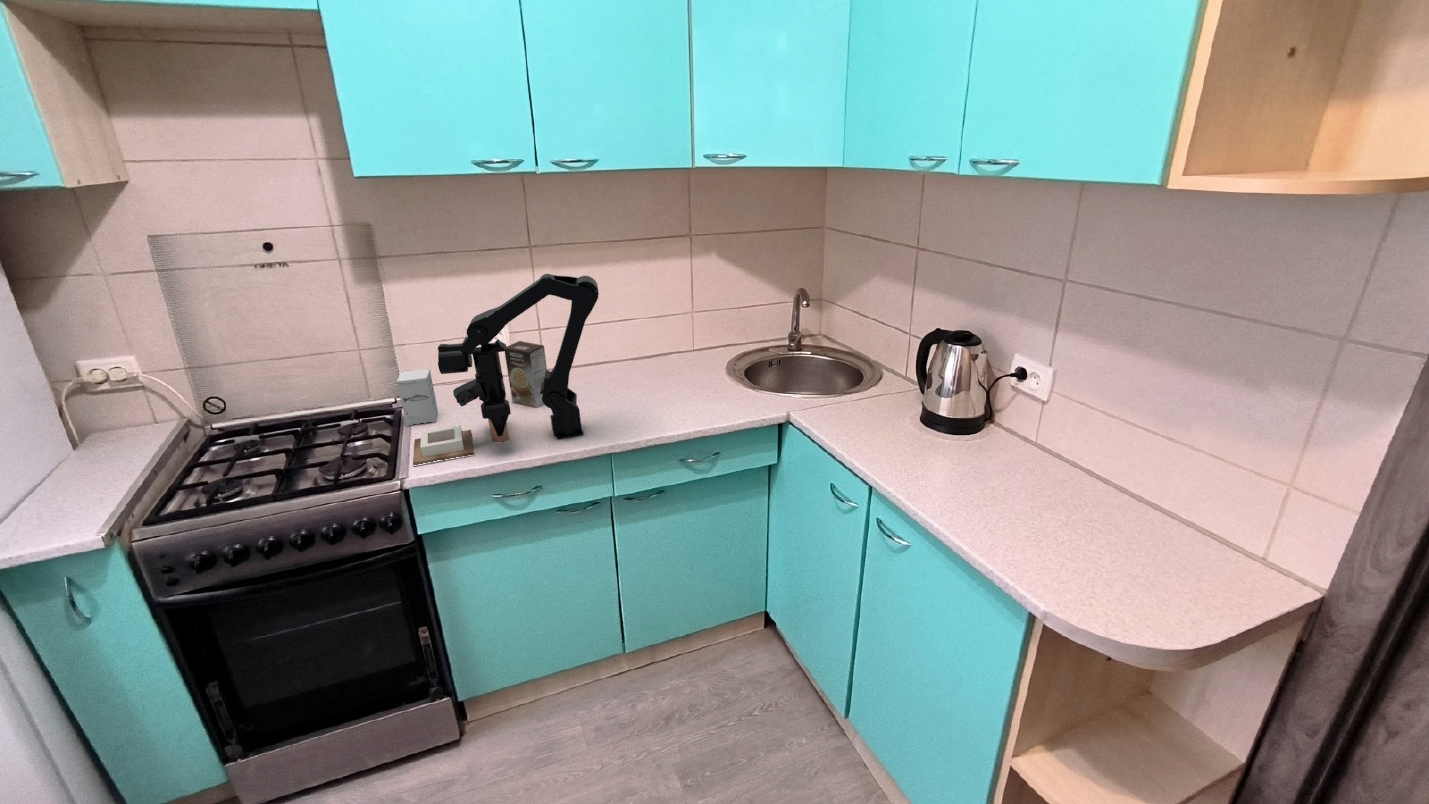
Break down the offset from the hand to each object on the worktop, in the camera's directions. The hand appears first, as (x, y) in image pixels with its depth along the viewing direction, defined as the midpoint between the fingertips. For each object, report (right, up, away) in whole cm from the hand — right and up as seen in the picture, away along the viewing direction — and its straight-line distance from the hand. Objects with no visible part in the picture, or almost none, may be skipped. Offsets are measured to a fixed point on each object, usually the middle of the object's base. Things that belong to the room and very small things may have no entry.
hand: (499, 429), depth 163 cm
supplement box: (-24, +2, +14) cm, 28 cm away
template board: (-12, -4, -3) cm, 13 cm away
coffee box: (+2, +7, +22) cm, 23 cm away
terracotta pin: (0, -2, +1) cm, 2 cm away
